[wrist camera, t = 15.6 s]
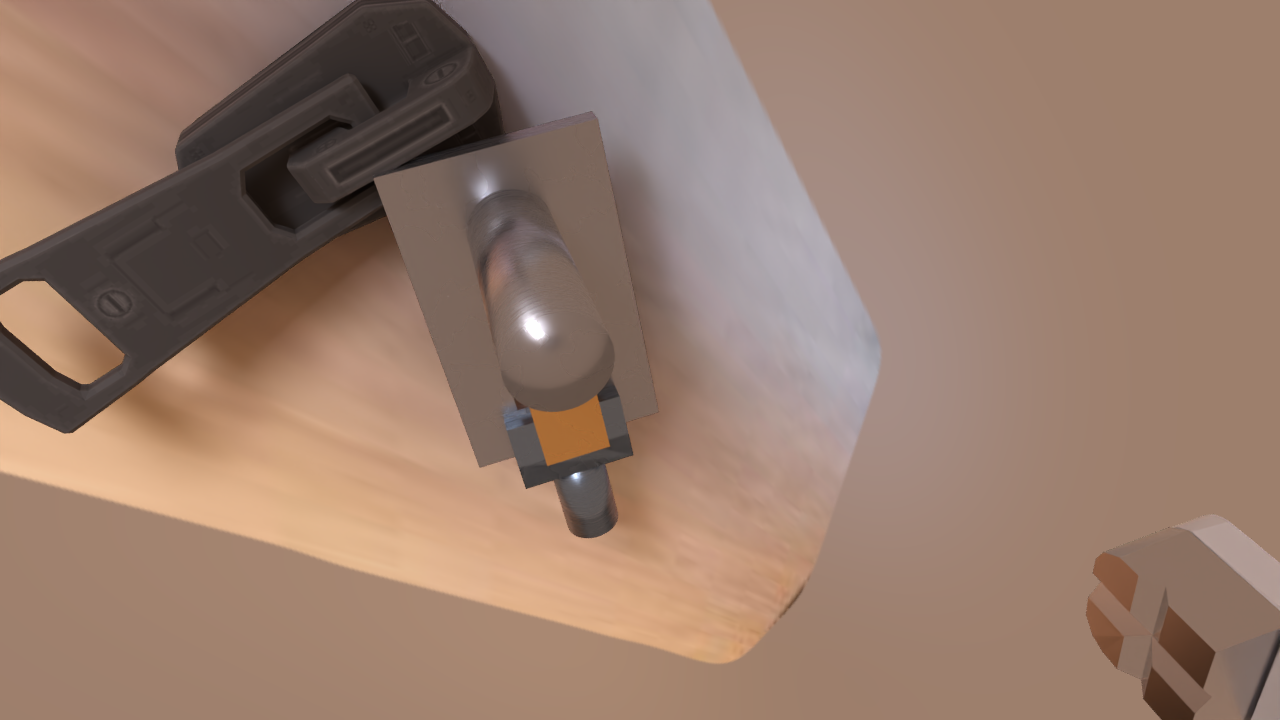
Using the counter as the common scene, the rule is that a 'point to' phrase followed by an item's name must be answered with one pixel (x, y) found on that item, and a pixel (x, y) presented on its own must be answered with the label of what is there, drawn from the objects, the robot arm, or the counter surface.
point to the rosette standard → (528, 297)
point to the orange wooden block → (571, 431)
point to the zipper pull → (252, 194)
